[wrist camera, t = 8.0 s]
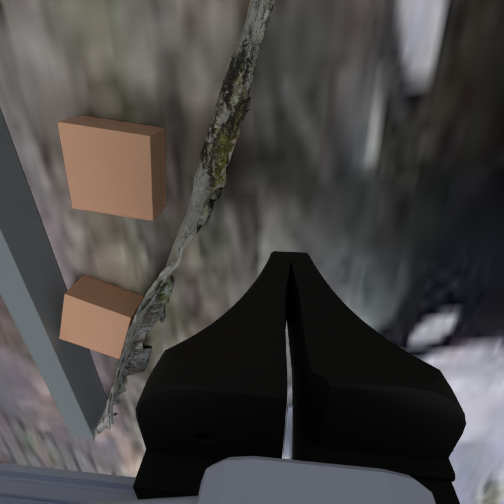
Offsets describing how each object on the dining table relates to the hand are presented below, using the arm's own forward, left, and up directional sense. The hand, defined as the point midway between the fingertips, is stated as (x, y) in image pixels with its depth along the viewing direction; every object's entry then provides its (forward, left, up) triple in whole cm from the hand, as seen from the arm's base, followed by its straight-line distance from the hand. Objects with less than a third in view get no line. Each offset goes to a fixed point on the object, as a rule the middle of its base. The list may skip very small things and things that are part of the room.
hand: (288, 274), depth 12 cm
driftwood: (+7, +5, -8) cm, 12 cm away
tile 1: (+9, -2, -8) cm, 12 cm away
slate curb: (+17, +6, -8) cm, 19 cm away
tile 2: (+13, +9, -8) cm, 18 cm away
